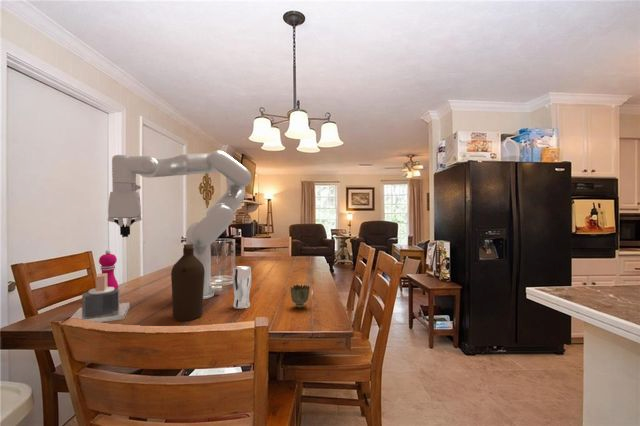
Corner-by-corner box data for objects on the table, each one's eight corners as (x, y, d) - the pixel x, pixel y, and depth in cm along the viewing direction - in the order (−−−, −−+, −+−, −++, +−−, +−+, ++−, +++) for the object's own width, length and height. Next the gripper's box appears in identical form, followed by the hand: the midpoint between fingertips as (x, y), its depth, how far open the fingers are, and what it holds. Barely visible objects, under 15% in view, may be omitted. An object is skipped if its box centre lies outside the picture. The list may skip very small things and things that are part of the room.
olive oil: (208, 317, 102) (209, 244, 102) (175, 324, 96) (175, 246, 96) (198, 309, 111) (199, 242, 110) (167, 315, 104) (168, 243, 104)
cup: (298, 303, 119) (298, 283, 119) (313, 306, 115) (313, 286, 115) (286, 307, 113) (286, 286, 113) (301, 311, 109) (301, 290, 109)
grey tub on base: (129, 306, 113) (129, 285, 113) (123, 319, 100) (123, 295, 100) (80, 311, 106) (80, 289, 106) (66, 326, 93) (66, 300, 93)
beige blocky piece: (115, 295, 108) (116, 272, 108) (112, 300, 102) (112, 276, 101) (91, 297, 105) (91, 273, 105) (86, 303, 98) (86, 277, 98)
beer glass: (254, 305, 116) (255, 266, 116) (242, 310, 110) (243, 269, 110) (240, 302, 119) (240, 265, 119) (228, 307, 113) (228, 268, 112)
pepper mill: (107, 301, 118) (107, 251, 118) (92, 300, 120) (92, 250, 120) (122, 296, 126) (122, 249, 125) (108, 295, 127) (108, 248, 127)
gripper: (147, 189, 119) (148, 235, 120) (102, 188, 112) (103, 237, 113) (146, 188, 113) (147, 236, 113) (98, 187, 106) (99, 238, 106)
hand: (125, 236), depth 113 cm, fingers closed
